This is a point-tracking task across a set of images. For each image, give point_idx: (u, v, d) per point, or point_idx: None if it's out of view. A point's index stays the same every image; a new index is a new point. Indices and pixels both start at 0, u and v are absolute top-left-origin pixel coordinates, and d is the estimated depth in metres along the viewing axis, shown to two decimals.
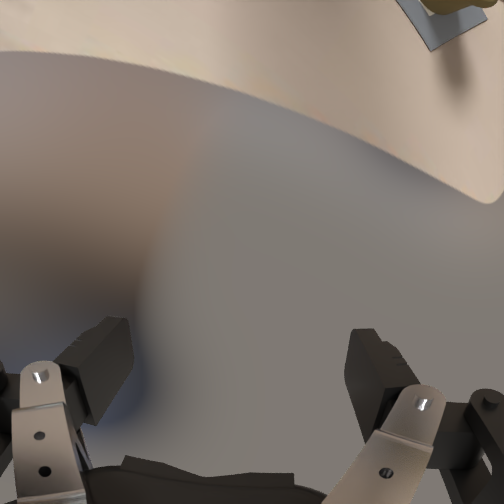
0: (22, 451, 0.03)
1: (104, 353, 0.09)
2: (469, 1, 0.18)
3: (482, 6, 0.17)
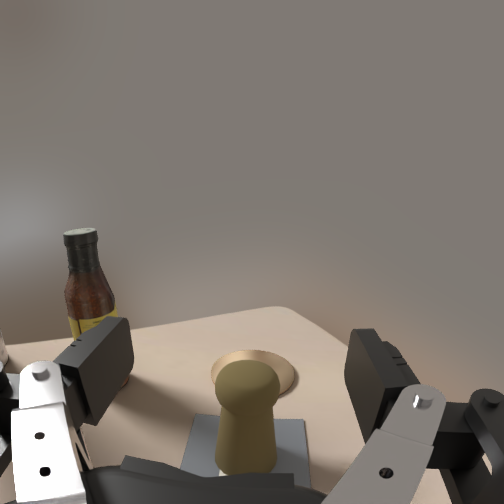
0: (22, 451, 0.03)
1: (104, 353, 0.09)
2: (262, 407, 0.22)
3: (274, 394, 0.23)
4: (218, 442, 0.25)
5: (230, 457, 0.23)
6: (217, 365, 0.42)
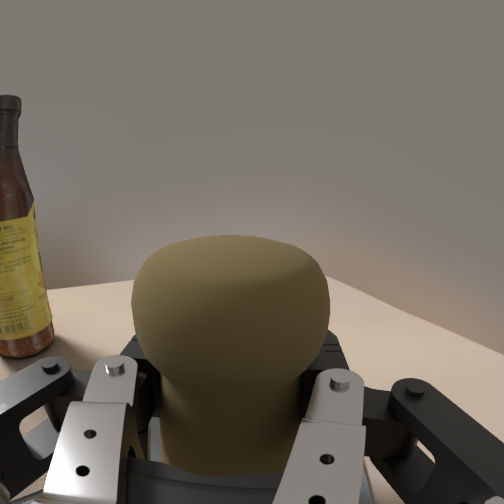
0: (66, 445, 0.04)
1: None
2: (278, 359, 0.06)
3: (320, 314, 0.07)
4: None
5: None
6: None
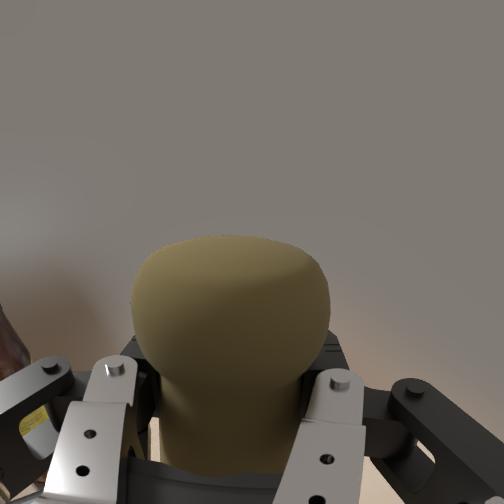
0: (66, 445, 0.04)
1: None
2: (278, 360, 0.06)
3: (320, 315, 0.07)
4: None
5: None
6: None
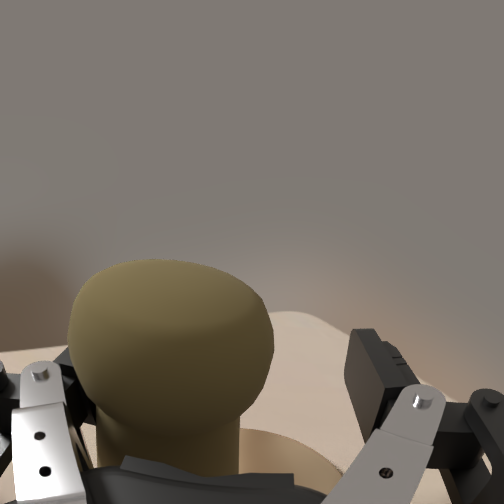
0: (22, 451, 0.03)
1: None
2: (199, 413, 0.06)
3: (254, 372, 0.06)
4: None
5: None
6: None
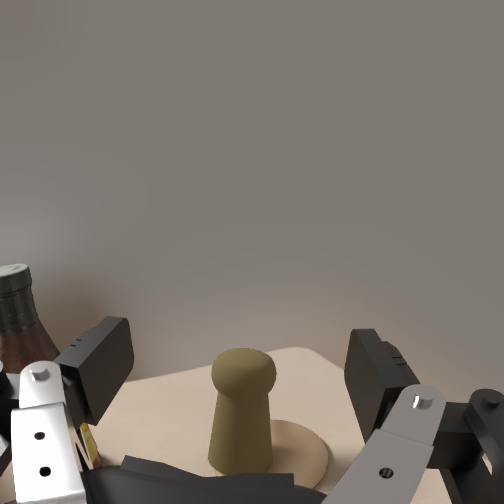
0: (22, 451, 0.03)
1: (104, 353, 0.09)
2: (256, 388, 0.22)
3: (270, 377, 0.23)
4: (212, 435, 0.24)
5: (223, 449, 0.23)
6: None
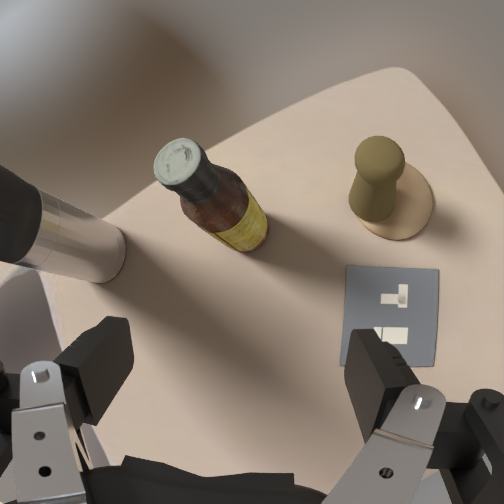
0: (22, 451, 0.03)
1: (104, 353, 0.09)
2: (390, 182, 0.28)
3: (400, 173, 0.28)
4: (353, 192, 0.35)
5: (362, 206, 0.35)
6: None
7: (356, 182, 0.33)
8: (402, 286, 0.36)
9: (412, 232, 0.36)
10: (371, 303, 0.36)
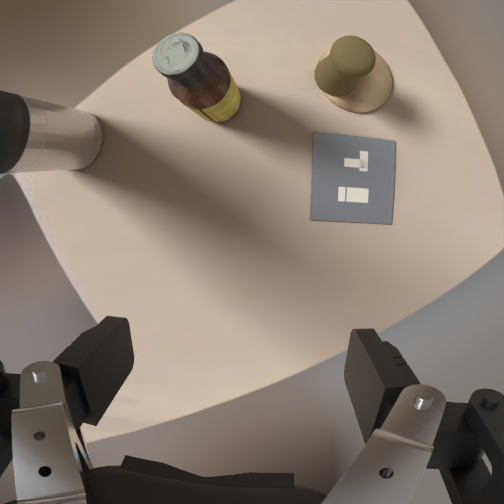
0: (22, 451, 0.03)
1: (104, 353, 0.09)
2: (359, 77, 0.30)
3: (370, 71, 0.29)
4: (321, 72, 0.35)
5: (328, 84, 0.36)
6: None
7: (326, 66, 0.33)
8: (363, 153, 0.41)
9: (372, 107, 0.39)
10: (336, 166, 0.42)
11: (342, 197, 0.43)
